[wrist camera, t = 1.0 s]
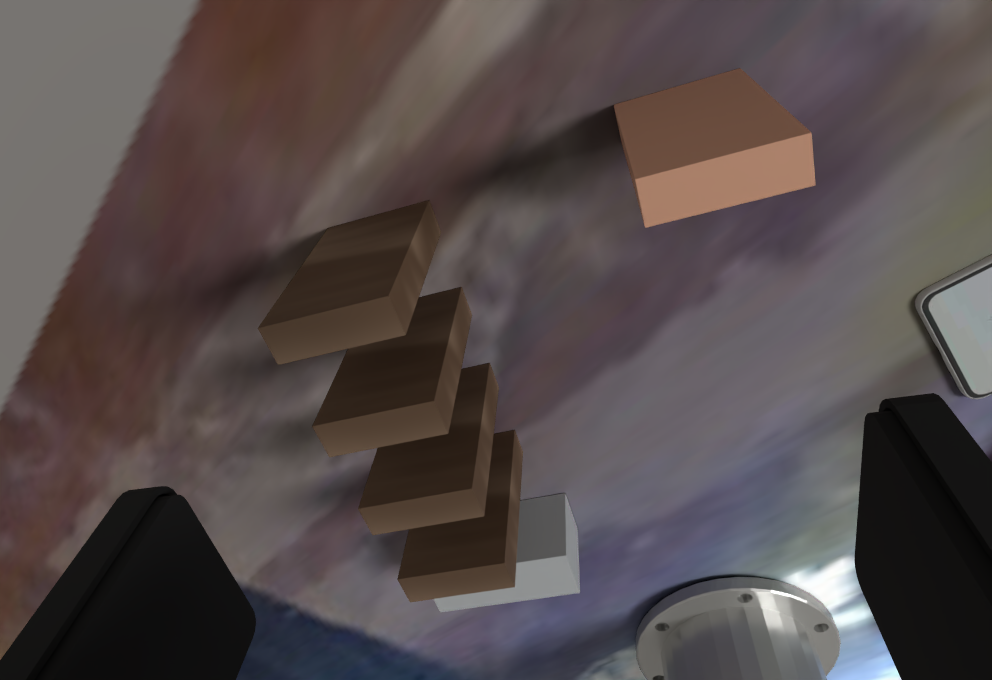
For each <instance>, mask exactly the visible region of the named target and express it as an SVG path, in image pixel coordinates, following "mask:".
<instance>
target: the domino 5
mask: <svg viewBox="0 0 992 680" xmlns="http://www.w3.org/2000/svg"><path fill="white" fill-rule="evenodd" d="M614 110H615V114H616V119H617V124H618V128H619V133H620V137H621V142H622V146H623V149H624V153H625V157H626V160H627V164H628V167H629V171H630V175H631V178H632V182H633V185H634V189H635V193H636V196H637V200H638V203H639V207H640V210H641V214H642V218H643V221H644V225H645V228H646V227H650V226H654V225H658V224H662V223H666V222H670V221H674V220H678V219H682V218H686V217H690V216H694V215H698V214H702V213H706V212H710V211H714V210H718V209H722V208H726V207H730V206H734V205H738V204H742V203H746V202H750V201H755V200H759V199H763V198H767V197H771V196H775V195H779V194H783V193H787V192H791V191H795V190H799V189H803V188H807V187H811V186H815V173H814V159H813V146H812V133H811V132H810V131H809V130H808V129H807V128H806V127H805V126H804V125H802V124H801V123H800V122H799V121H798V120H797V119H796V118H795V117H794V116H792V115H791V114H790V113H789V112H788V111H787V110H786V109H785V108H784V107H782V106H781V105H780V104H779V103H778V102H777V101H776V100H775V99H774V98H772V97H771V96H770V95H769V94H768V93H767V92H766V91H765V90H764V89H762V88H761V87H760V86H759V85H758V84H757V83H756V82H755V81H754V80H753V79H751V78H750V77H749V76H748V75H747V74H746V73H745V72H744V71H743V70H741V69H740V68H739V69H735V70H732V71H729V72H725V73H722V74H718V75H715V76H711V77H708V78H704V79H701V80H697V81H694V82H691V83H687V84H684V85H680V86H677V87H673V88H670V89H666V90H663V91H660V92H656V93H653V94H649V95H646V96H642V97H639V98H635V99H632V100H628V101H625V102H622V103H618V104H615V105H614Z"/></svg>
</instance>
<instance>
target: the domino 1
mask: <svg viewBox="0 0 992 680" xmlns="http://www.w3.org/2000/svg"><path fill="white" fill-rule="evenodd" d="M440 234H441V231H440V228H439V225H438V222H437V220H436V217H435V214H434V212H433V209H432V206H431V204H430V201H429V200H428V201H424V202H421V203H417V204H413V205H410V206H406V207H402V208H399V209H395V210H392V211H388V212H384V213H381V214H377V215H374V216H370V217H366V218H363V219H359V220H355V221H352V222H348V223H345V224H341V225H337V226H334V227H330V228H328V229H327V230H326V232H325V233H324V234H323V236H322V237H321V239H320V240H319V242H318V243H317V244H316V246H315V247H314V249H313V250H312V252H311V253H310V254H309V256H308V257H307V259H306V260H305V262H304V263H303V264H302V266H301V267H300V269H299V270H298V272H297V273H296V274H295V276H294V277H293V279H292V280H291V282H290V283H289V284H288V286H287V287H286V289H285V290H284V292H283V293H282V294H281V296H280V297H279V299H278V300H277V302H276V303H275V304H274V306H273V307H272V309H271V310H270V312H269V313H268V314H267V316H266V317H265V319H264V320H263V322H262V323H261V324H260V326H259V327H258V330H259V331H260V333H261V335H262V337H263V339H264V340H265V342H266V344H267V346H268V348H269V350H270V351H271V353H272V355H273V357H274V359H275V360H276V362H277V364H278V365H280V364H284V363H289V362H293V361H297V360H301V359H306V358H310V357H314V356H319V355H323V354H327V353H331V352H336V351H340V350H344V349H348V348H353V347H357V346H361V345H366V344H370V343H374V342H378V341H383V340H387V339H391V338H396V337H400V336H404V335H406V333H407V330H408V327H409V324H410V321H411V318H412V315H413V312H414V309H415V307H416V304H417V301H418V298H419V295H420V292H421V289H422V286H423V283H424V281H425V278H426V275H427V272H428V269H429V266H430V263H431V260H432V257H433V255H434V252H435V249H436V246H437V243H438V240H439V237H440Z"/></svg>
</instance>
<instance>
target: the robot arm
mask: <svg viewBox="0 0 992 680" xmlns="http://www.w3.org/2000/svg"><path fill="white" fill-rule="evenodd" d="M855 568H856V573H857V578H858V581H859V584H860V587H861V589H862V592H863V594H864V596H865V598H866V601H867V603H868V605H869V607H870V610H871V612H872V614H873V616H874V619H875V621H876V623H877V625H878V628H879V630H880V632H881V634H882V637H883V639H884V641H885V643H886V646H887V648H888V650H889V652H890V655H891V657H892V659H893V661H894V664H895V666H896V668H897V670H898V673H899V675H900V677H901V679H902V680H992V462H991V461H990V459H989V458H988V457H987V456H986V454H985V453H984V452H983V450H982V449H981V448H980V447H979V445H978V444H977V443H976V441H975V440H974V439H973V438H972V436H971V435H970V434H969V432H968V431H967V430H966V429H965V427H964V426H963V425H962V423H961V422H960V421H959V419H958V418H957V417H956V416H955V414H954V413H953V412H952V410H951V409H950V408H949V407H948V405H947V404H946V403H945V401H944V400H943V399H942V398H941V397H940V396H939V395H937V394H934V393H931V394H923V395H915V396H907V397H898V398H890V399H885V400H882V402H881V404H880V407H879V412H873V413H868V414H867V415H866V417H865V422H864V436H863V449H862V463H861V477H860V491H859V505H858V518H857V532H856V546H855ZM255 626H256V618H255V613H254V611H253V608H252V607H251V605H250V603H249V602H248V600H247V598H246V597H245V595H244V594H243V592H242V590H241V589H240V587H239V585H238V584H237V582H236V580H235V579H234V577H233V576H232V574H231V572H230V571H229V569H228V567H227V566H226V564H225V562H224V561H223V559H222V557H221V556H220V554H219V553H218V551H217V549H216V548H215V546H214V544H213V543H212V541H211V539H210V538H209V536H208V535H207V533H206V531H205V530H204V528H203V526H202V525H201V523H200V521H199V520H198V518H197V517H196V515H195V513H194V512H193V510H192V508H191V507H190V505H189V503H188V502H187V500H186V499H185V498H184V497H183V496H181V495H177V494H176V492H175V491H174V490H173V489H171V488H169V487H167V486H161V487H152V488H144V489H136V490H129V491H127V492H124V493H123V494H122V495H121V496H120V497H119V498H118V499H117V500H116V502H115V503H114V504H113V506H112V507H111V509H110V510H109V511H108V513H107V514H106V515H105V517H104V518H103V520H102V521H101V522H100V524H99V525H98V526H97V528H96V529H95V531H94V532H93V533H92V535H91V536H90V537H89V539H88V540H87V542H86V543H85V544H84V546H83V547H82V548H81V550H80V551H79V553H78V554H77V555H76V557H75V558H74V560H73V561H72V562H71V564H70V565H69V566H68V568H67V569H66V571H65V572H64V573H63V575H62V576H61V577H60V579H59V580H58V582H57V583H56V584H55V586H54V587H53V588H52V590H51V591H50V593H49V594H48V595H47V597H46V598H45V599H44V601H43V602H42V604H41V605H40V606H39V608H38V609H37V611H36V612H35V613H34V615H33V616H32V617H31V619H30V620H29V622H28V623H27V624H26V626H25V627H24V628H23V630H22V631H21V633H20V634H19V635H18V637H17V638H16V639H15V641H14V642H13V644H12V645H11V646H10V648H9V649H8V650H7V652H6V653H5V655H4V656H3V657H2V659H1V660H0V680H236V678H237V675H238V673H239V670H240V668H241V665H242V663H243V661H244V658H245V656H246V653H247V651H248V648H249V646H250V643H251V641H252V638H253V636H254V632H255ZM635 644H636V656H637V661H638V664H639V668H640V670H641V671H642V673H643V674H644V676H645V678H646V679H647V680H827V678H826V676H827V674H828V673H829V672H830V671H831V669H832V668H833V667H834V665H835V663H836V661H837V659H838V656H839V654H840V645H841V641H840V637H839V632H838V629H837V627H836V624H835V622H834V620H833V617H832V615H831V613H830V612H829V611H828V609H827V608H826V607H825V606H824V604H823V603H822V602H820V601H819V600H818V599H817V598H815V597H814V596H813V595H811V594H810V593H808V592H806V591H804V590H802V589H800V588H798V587H796V586H793V585H790V584H786V583H783V582H780V581H776V580H770V579H764V578H758V577H731V578H720V579H714V580H709V581H705V582H700V583H697V584H694V585H691V586H689V587H686V588H683V589H680V590H679V591H677V592H675V593H673V594H671V595H669V596H667V597H666V598H664V599H663V600H661V601H660V602H659V603H658V604H656V605H655V606H654V607H653V608H651V610H650V611H649V612H648V613H647V614H646V616H645V617H644V618H643V619H642V621H641V623H640V625H639V627H638V629H637V634H636V639H635Z"/></svg>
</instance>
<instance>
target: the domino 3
mask: <svg viewBox="0 0 992 680" xmlns="http://www.w3.org/2000/svg"><path fill="white" fill-rule="evenodd" d="M498 391H499V387H498V384H497V381H496V379H495V376H494V373H493V371H492V368H491V365H490V363H487V364H482V365H478V366H473V367H468V368H464V369H461V373H460V378H459V383H458V388H457V393H456V398H455V403H454V408H453V413H452V418H451V423H450V427H449V432H448V434H444V435H439V436H434V437H429V438H424V439H419V440H414V441H409V442H404V443H399V444H394V445H389V446H384V447H379V448H378V449H377V452H376V455H375V458H374V461H373V464H372V467H371V470H370V474H369V477H368V480H367V483H366V486H365V489H364V492H363V495H362V498H361V501H360V505H359V508H358V510H359V511H360V513H361V515H362V517H363V519H364V520H365V522H366V524H367V526H368V528H369V529H370V531H371V533H372V535H377V534H383V533H389V532H395V531H401V530H407V529H413V528H419V527H425V526H430V525H436V524H442V523H448V522H454V521H460V520H466V519H472V518H478V517H484V514H485V505H486V496H487V487H488V479H489V470H490V461H491V452H492V444H493V435H494V426H495V417H496V408H497V400H498Z"/></svg>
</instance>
